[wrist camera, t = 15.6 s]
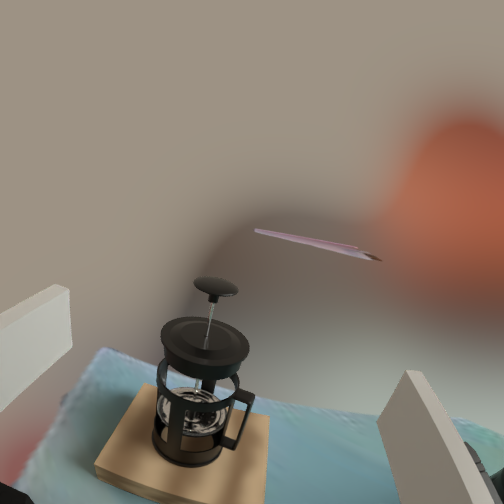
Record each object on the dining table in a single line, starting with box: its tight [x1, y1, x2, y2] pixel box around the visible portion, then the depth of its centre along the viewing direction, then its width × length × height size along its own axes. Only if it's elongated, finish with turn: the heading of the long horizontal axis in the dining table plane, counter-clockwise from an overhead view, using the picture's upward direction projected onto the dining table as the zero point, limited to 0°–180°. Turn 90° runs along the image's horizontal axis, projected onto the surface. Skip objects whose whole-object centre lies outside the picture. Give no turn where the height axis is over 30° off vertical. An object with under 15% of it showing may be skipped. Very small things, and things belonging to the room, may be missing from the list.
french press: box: [151, 276, 255, 468], centre depth 30 cm, size 12×9×23 cm
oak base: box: [94, 383, 270, 504], centre depth 33 cm, size 20×18×4 cm
